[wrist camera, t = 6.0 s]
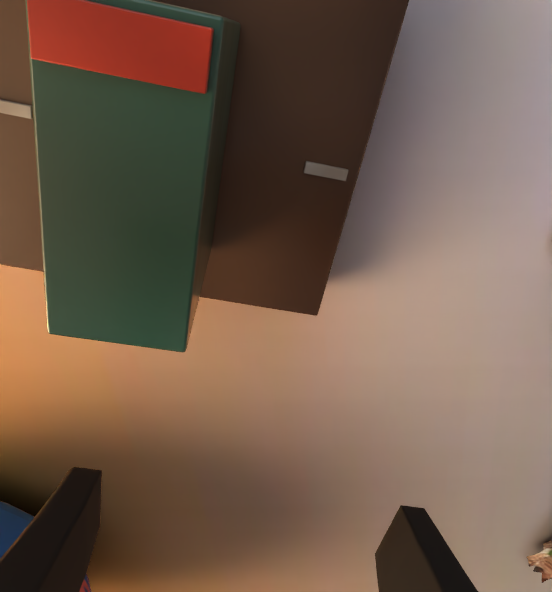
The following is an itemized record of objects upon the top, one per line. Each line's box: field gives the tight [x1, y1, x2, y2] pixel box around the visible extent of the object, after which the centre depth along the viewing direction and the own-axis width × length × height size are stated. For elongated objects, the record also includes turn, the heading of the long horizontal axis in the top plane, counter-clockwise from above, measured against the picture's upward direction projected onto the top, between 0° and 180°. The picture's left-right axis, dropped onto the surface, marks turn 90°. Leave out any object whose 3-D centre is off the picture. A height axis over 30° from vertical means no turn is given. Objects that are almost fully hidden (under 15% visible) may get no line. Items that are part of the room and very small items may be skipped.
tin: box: [25, 0, 241, 352], centre depth 12 cm, size 7×3×6 cm, turn 169°
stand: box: [0, 0, 409, 315], centre depth 15 cm, size 12×11×3 cm
